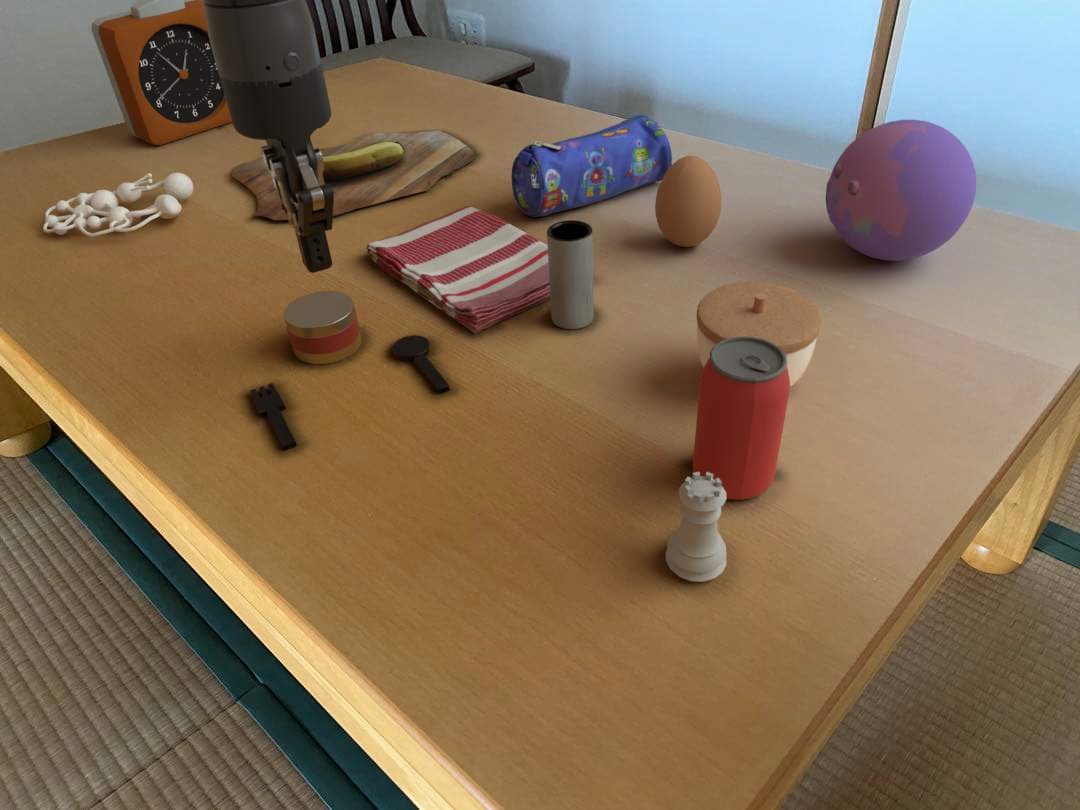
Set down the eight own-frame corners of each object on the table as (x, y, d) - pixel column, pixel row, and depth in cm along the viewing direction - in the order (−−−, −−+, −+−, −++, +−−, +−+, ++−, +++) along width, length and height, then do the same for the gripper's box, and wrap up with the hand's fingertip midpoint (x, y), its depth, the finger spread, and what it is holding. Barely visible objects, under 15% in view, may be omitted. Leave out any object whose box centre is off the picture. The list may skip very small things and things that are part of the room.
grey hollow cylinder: (560, 304, 90) (556, 217, 83) (599, 310, 88) (599, 223, 82) (544, 325, 86) (539, 237, 80) (585, 333, 85) (583, 243, 78)
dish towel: (476, 337, 85) (473, 315, 84) (363, 259, 100) (359, 239, 98) (595, 279, 93) (595, 258, 92) (474, 214, 108) (472, 196, 106)
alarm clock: (153, 149, 133) (104, 12, 120) (129, 137, 138) (80, 5, 125) (253, 116, 143) (218, -13, 130) (227, 106, 148) (191, -19, 135)
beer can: (733, 516, 64) (751, 395, 56) (675, 471, 68) (683, 353, 61) (790, 479, 67) (814, 359, 59) (730, 438, 71) (745, 321, 64)
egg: (730, 247, 98) (740, 159, 91) (680, 266, 95) (686, 176, 88) (689, 224, 103) (695, 139, 96) (640, 241, 100) (643, 154, 93)
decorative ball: (793, 234, 99) (813, 110, 90) (904, 215, 102) (934, 92, 92) (861, 295, 88) (891, 160, 79) (984, 272, 90) (1028, 138, 81)
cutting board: (266, 238, 106) (258, 210, 103) (218, 170, 125) (210, 145, 122) (505, 172, 118) (502, 146, 116) (428, 119, 137) (425, 96, 135)
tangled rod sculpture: (29, 258, 107) (13, 231, 104) (67, 202, 118) (53, 176, 115) (177, 242, 107) (165, 214, 104) (201, 188, 118) (191, 161, 115)
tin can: (336, 370, 82) (326, 333, 79) (279, 356, 84) (268, 319, 82) (375, 333, 87) (367, 297, 84) (320, 321, 89) (311, 285, 87)
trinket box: (782, 343, 82) (796, 259, 76) (827, 409, 73) (846, 321, 68) (678, 356, 81) (683, 272, 75) (711, 425, 73) (720, 337, 67)
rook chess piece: (653, 565, 60) (657, 488, 55) (686, 530, 63) (693, 453, 58) (705, 596, 58) (714, 518, 53) (737, 558, 61) (749, 480, 56)
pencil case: (536, 231, 103) (531, 158, 97) (504, 207, 109) (498, 137, 103) (677, 188, 111) (681, 118, 105) (640, 168, 117) (642, 100, 111)
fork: (303, 443, 73) (302, 438, 73) (277, 453, 72) (275, 448, 72) (275, 387, 80) (273, 382, 80) (250, 395, 79) (248, 390, 79)
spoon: (462, 385, 79) (461, 379, 78) (426, 399, 78) (425, 393, 77) (421, 336, 86) (421, 331, 86) (388, 348, 85) (386, 342, 84)
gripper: (200, 51, 65) (258, 249, 75) (239, 94, 55) (298, 313, 66) (293, 35, 67) (336, 228, 78) (345, 73, 58) (385, 287, 69)
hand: (318, 267), depth 72 cm, fingers closed
